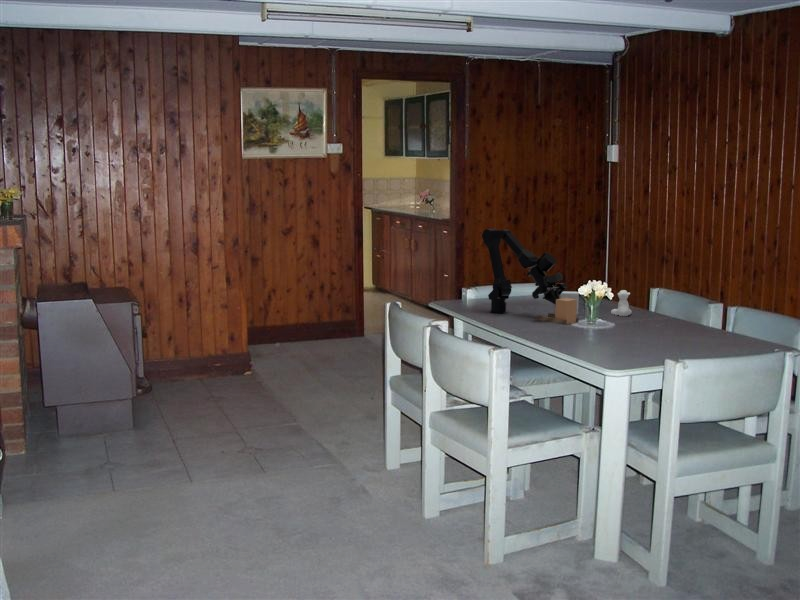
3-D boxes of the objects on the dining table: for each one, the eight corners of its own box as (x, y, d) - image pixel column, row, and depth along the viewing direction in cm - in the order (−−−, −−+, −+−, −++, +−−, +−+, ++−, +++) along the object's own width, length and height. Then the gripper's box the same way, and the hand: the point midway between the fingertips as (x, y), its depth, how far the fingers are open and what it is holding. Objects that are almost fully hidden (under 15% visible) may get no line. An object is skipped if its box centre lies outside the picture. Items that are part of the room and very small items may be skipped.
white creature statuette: (631, 313, 409) (632, 288, 407) (635, 317, 401) (636, 291, 399) (610, 313, 409) (612, 288, 407) (614, 316, 401) (615, 291, 399)
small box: (576, 313, 408) (577, 291, 406) (578, 315, 402) (579, 293, 400) (559, 313, 408) (560, 291, 407) (560, 315, 403) (561, 292, 401)
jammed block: (555, 322, 381) (555, 299, 379) (564, 320, 385) (565, 297, 384) (566, 324, 376) (567, 301, 375) (576, 322, 381) (577, 299, 379)
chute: (535, 321, 387) (535, 315, 386) (549, 318, 393) (549, 312, 393) (568, 327, 374) (569, 321, 373) (582, 324, 380) (582, 318, 380)
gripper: (538, 268, 377) (557, 296, 371) (564, 265, 390) (584, 292, 383) (523, 284, 384) (542, 312, 378) (549, 280, 397) (568, 307, 390)
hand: (560, 305), depth 382 cm, fingers closed, pressing on jammed block
